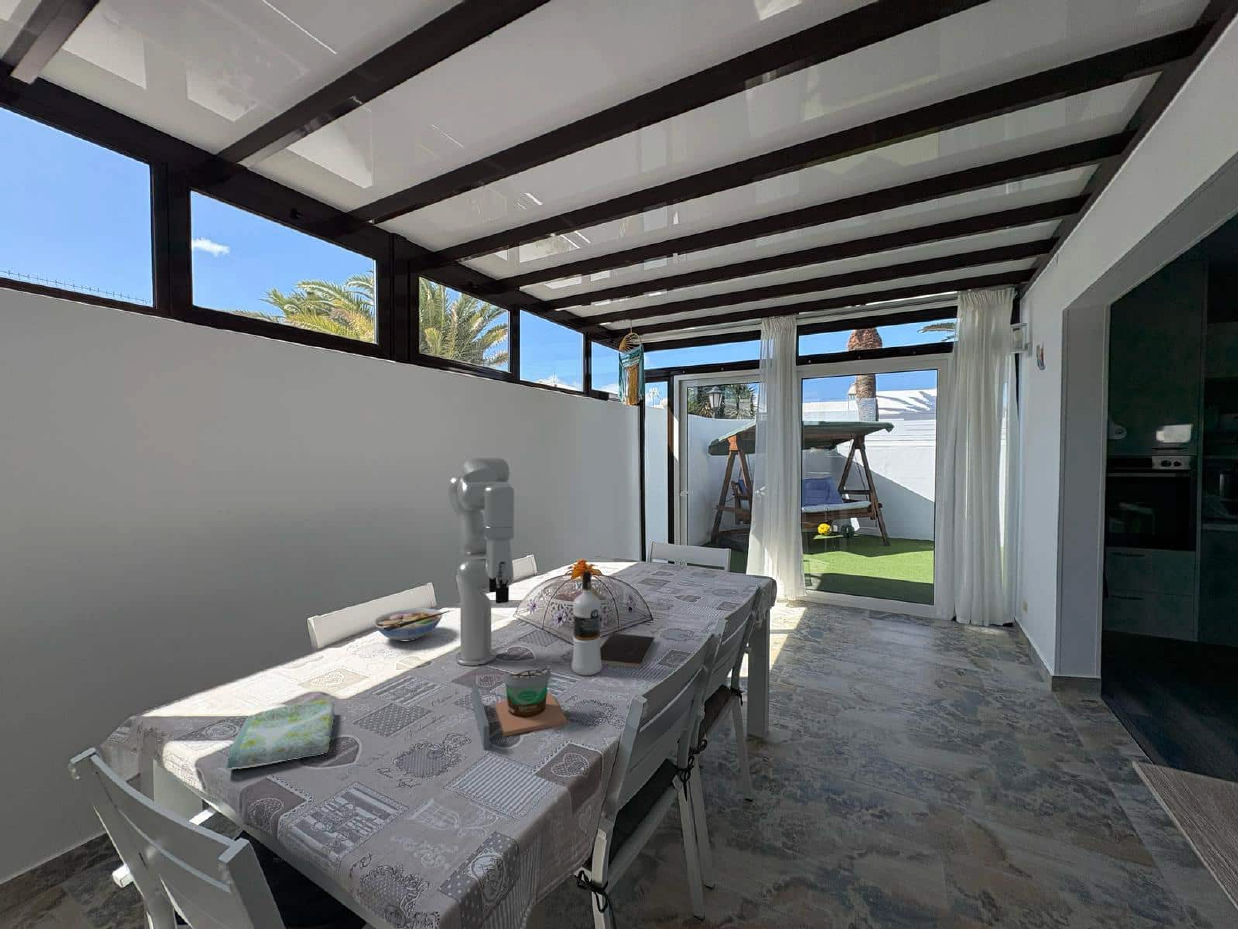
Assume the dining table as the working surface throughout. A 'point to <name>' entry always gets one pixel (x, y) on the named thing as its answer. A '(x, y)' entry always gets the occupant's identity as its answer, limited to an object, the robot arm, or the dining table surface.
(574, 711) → the dining table surface
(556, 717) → the mat
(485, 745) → the acrylic wall
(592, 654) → the vodka
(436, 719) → the dining table surface
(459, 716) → the dining table surface
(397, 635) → the ramen bowl
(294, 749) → the towel
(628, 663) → the hardcover book
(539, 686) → the food container
